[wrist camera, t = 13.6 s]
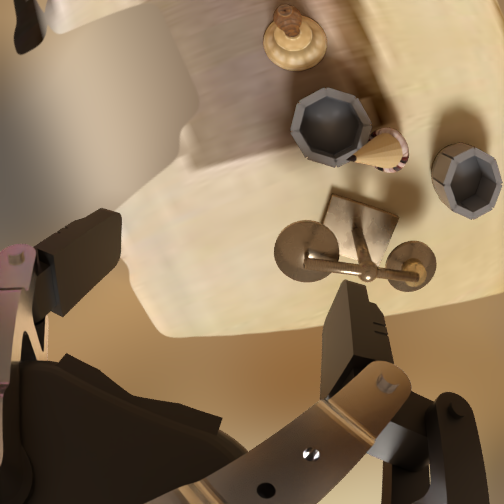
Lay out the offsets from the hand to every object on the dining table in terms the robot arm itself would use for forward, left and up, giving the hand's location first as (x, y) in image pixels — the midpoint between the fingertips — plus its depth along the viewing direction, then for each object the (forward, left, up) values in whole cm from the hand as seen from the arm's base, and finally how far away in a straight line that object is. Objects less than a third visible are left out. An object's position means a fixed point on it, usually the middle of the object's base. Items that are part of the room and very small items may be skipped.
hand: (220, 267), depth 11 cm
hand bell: (-14, -3, -34) cm, 37 cm away
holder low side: (-4, +24, -34) cm, 42 cm away
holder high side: (-4, +4, -34) cm, 35 cm away
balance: (+9, +12, -34) cm, 37 cm away
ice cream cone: (-2, +6, -21) cm, 22 cm away
